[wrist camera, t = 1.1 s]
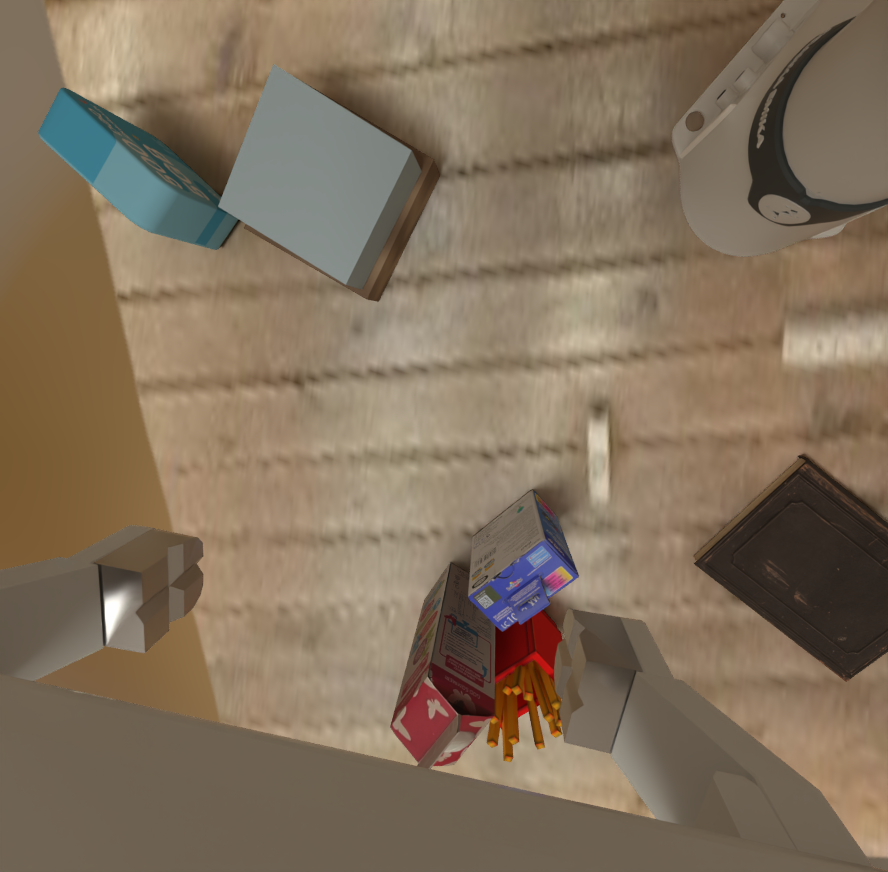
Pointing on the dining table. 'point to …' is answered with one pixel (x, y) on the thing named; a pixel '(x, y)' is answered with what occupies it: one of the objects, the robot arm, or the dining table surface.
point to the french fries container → (525, 681)
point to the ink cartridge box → (519, 563)
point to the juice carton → (447, 675)
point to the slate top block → (319, 179)
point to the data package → (135, 172)
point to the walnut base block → (400, 230)
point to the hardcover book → (810, 567)
